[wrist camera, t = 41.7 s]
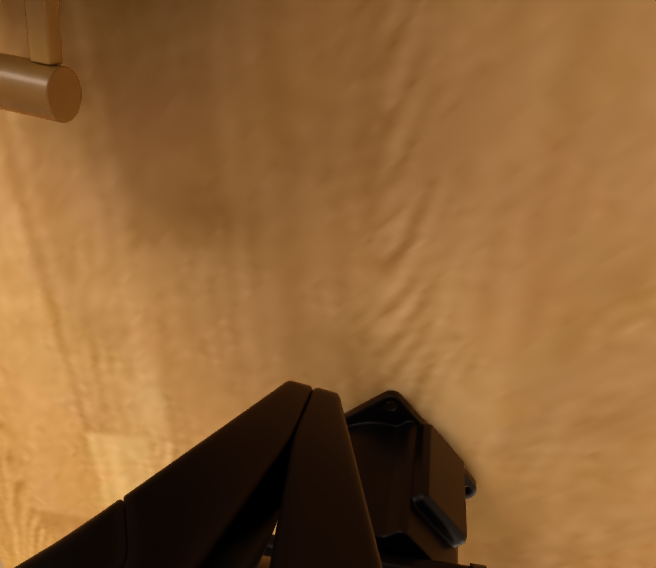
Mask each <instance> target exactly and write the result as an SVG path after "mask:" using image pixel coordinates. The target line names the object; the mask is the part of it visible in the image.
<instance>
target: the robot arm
mask: <svg viewBox="0 0 656 568" xmlns="http://www.w3.org/2000/svg"><path fill="white" fill-rule="evenodd" d="M387 401H394V402H395V403H396V404H393V405H392V404H389V403H387ZM465 486H468V487H465ZM475 494H476V481H475V479H474V478H473V477H472V476H471V475H470V474H469V472H468V471H467V470H466V469H465V468H464V462H463V461H462V459H461V458H460V457H459V456H458V455H457V454H456V452H455V451H454V450H453V449H452V448H451V447H450V446H449V444H448V443H447V442H446V441H445V440H444V439H443V437H442V436H441V435H440V434H439V433H438V432H437V431H436V429H435V428H434V427H433V426H432V425H430V424H428V423H425V422H424V421H423V419H422V418H421V417H420V416H419V415H418V414H417V413H416V411H415V410H414V409H413V408H412V407H411V406H410V405H409V403H408V402H407V401H406V400H405V399H404V398H403V396H402V395H401V394H399V393H398V392H396V391H386V392H384V393H382V394H380V395H378V396H376V397H374V398H372V399H371V400H369V401H367V402H365V403H363V404H361V405H359V406H358V407H356V408H354V409H352V410H350V411H348V412H347V413H345V414H344V412H343V408H342V404H341V400H340V397H339V395H338V394H337V393H335V392H332V391H328V390H324V389H321V388H315V389H314V390H312V387H311V386H309V385H306V384H302V383H298V382H295V381H287V382H285V383H284V384H283V385H281V386H280V387H278V388H277V389H276V390H274V391H273V392H271V393H270V394H268V395H267V396H266V397H264V398H263V399H261V400H260V401H259V402H257V403H256V404H254V405H253V406H251V407H250V408H249V409H247V410H246V411H244V412H243V413H242V414H240V415H239V416H237V417H236V418H234V419H233V420H232V421H230V422H229V423H227V424H226V425H224V426H223V427H222V428H220V429H219V430H217V431H216V432H215V433H213V434H212V435H210V436H209V437H207V438H206V439H205V440H203V441H202V442H200V443H199V444H198V445H196V446H195V447H193V448H192V449H190V450H189V451H188V452H186V453H185V454H183V455H182V456H181V457H179V458H178V459H176V460H175V461H173V462H172V463H171V464H169V465H168V466H166V467H165V468H163V469H162V470H161V471H159V472H158V473H156V474H155V475H154V476H152V477H151V478H149V479H148V480H146V481H145V482H144V483H142V484H141V485H139V486H138V487H137V488H135V489H134V490H132V491H131V492H129V493H128V494H127V495H125V496H124V502H123V500H118V501H116V502H115V503H113V504H112V505H111V506H109V507H108V508H106V509H105V510H103V511H102V512H101V513H99V514H98V515H96V516H95V517H93V518H92V519H90V520H89V521H87V522H86V523H84V524H83V525H81V526H80V527H78V528H77V529H75V530H74V531H72V532H71V533H69V534H68V535H67V536H65V537H64V538H62V539H61V540H59V541H58V542H56V543H54V544H53V545H51V546H49V547H48V548H46V549H44V550H43V551H41V552H39V553H38V554H36V555H34V556H33V557H31V558H29V559H28V560H26V561H25V562H23V563H21V564H20V565H18V566H16V567H15V568H486V566H485V565H478V564H472V563H470V566H466V565H460V564H458V546H459V545H462V544H465V541H466V538H467V525H466V501H465V499H468V498H470V497H472V496H474V495H475ZM277 520H278V521H277ZM276 523H277V527H276V532H275V535H273V534H272V533H273V531H274V528H275V526H276Z"/></svg>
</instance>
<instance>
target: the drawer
mask: <svg viewBox="0 0 656 568" xmlns="http://www.w3.org/2000/svg"><path fill="white" fill-rule="evenodd" d="M24 1H25V12H26V22H27V33H28V43H29V54H30V59H28V58H23V57H18V56H14V55H9V54H4V53H0V109H3V110H7V111H12V112H16V113H21V114H25V115H30V116H34V117H39V118H43V119H48V120H52V121H57V122H61V123H65V122H69V121H71V120H72V119H73V118H74V117H75V116H76V115H77V113H78V111H79V108H80V105H81V98H82V92H81V85H80V82H79V79H78V77H77V75H76V74H75V72H74V71H73V70H71V69H70V68H68V67H66V66H61V65H57V64H62V63H63V56H62V41H61V26H60V12H59V0H24Z"/></svg>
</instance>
